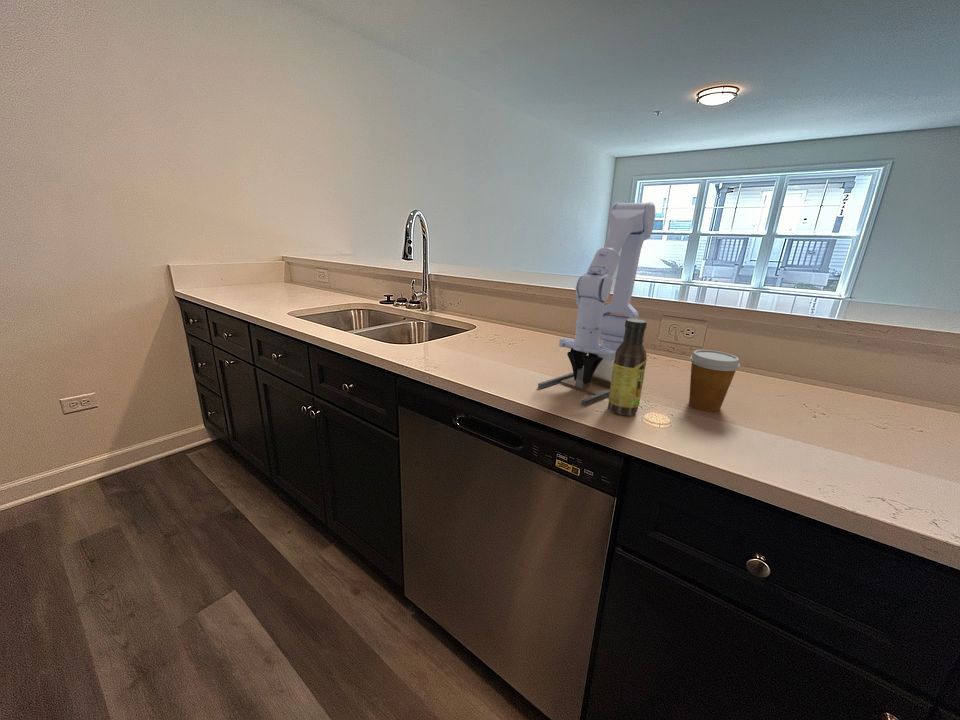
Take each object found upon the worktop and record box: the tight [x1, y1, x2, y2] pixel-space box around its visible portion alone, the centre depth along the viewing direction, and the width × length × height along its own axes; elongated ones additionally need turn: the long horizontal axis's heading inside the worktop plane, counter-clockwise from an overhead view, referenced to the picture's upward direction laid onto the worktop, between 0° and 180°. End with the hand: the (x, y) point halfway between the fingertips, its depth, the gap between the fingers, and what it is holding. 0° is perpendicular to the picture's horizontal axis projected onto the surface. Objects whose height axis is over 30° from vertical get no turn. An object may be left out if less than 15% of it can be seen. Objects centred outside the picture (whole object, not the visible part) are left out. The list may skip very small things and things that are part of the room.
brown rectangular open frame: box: [560, 366, 611, 396], centre depth 100 cm, size 15×11×5 cm
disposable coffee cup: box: [688, 349, 741, 412], centre depth 88 cm, size 10×10×12 cm
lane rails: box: [537, 372, 610, 407], centre depth 97 cm, size 18×13×1 cm
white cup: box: [593, 358, 615, 381], centre depth 102 cm, size 7×7×7 cm
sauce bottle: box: [607, 318, 648, 416], centre depth 83 cm, size 6×6×20 cm
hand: (582, 381), depth 96 cm, fingers closed on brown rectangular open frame, 2 cm apart
